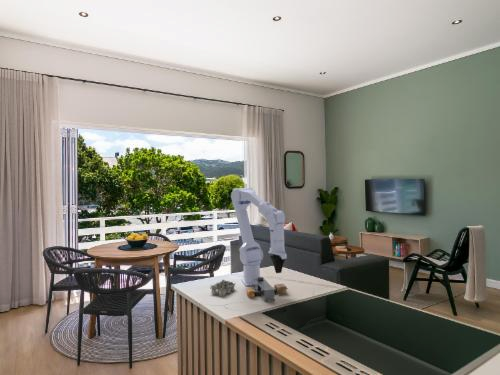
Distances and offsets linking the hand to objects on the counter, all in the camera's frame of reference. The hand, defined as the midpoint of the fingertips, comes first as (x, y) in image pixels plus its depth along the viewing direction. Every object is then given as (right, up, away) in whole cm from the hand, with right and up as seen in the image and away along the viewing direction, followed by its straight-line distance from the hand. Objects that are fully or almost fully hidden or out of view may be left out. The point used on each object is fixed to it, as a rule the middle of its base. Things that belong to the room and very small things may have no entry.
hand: (278, 272), depth 143 cm
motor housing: (-6, -9, -1) cm, 11 cm away
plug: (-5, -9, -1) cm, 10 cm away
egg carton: (-24, -10, +5) cm, 26 cm away
